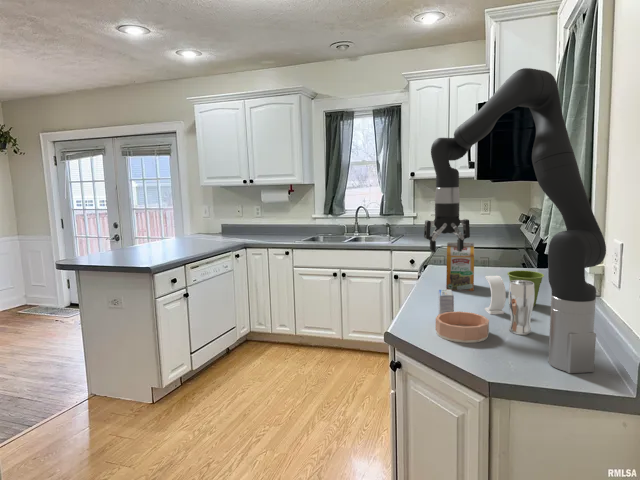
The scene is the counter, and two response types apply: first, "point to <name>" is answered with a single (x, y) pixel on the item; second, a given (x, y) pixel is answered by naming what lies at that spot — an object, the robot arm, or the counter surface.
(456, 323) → the bowl
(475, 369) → the counter surface
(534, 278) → the plant pot
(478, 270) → the counter surface
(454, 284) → the milk carton
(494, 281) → the headphone stand
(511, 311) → the beer glass
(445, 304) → the medicine box
